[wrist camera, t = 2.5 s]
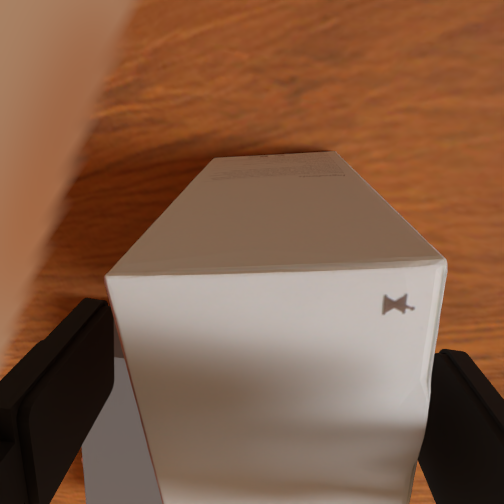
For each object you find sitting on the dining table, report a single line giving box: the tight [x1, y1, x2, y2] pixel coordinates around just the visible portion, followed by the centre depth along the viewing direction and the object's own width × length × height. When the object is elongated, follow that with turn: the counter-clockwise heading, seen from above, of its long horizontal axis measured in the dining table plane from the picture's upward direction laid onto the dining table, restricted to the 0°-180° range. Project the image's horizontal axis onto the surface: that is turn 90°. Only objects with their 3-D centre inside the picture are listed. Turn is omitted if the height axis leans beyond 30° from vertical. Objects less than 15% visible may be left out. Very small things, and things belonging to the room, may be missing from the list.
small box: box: [104, 151, 447, 504], centre depth 14 cm, size 8×6×13 cm
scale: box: [81, 321, 163, 504], centre depth 23 cm, size 18×18×5 cm
